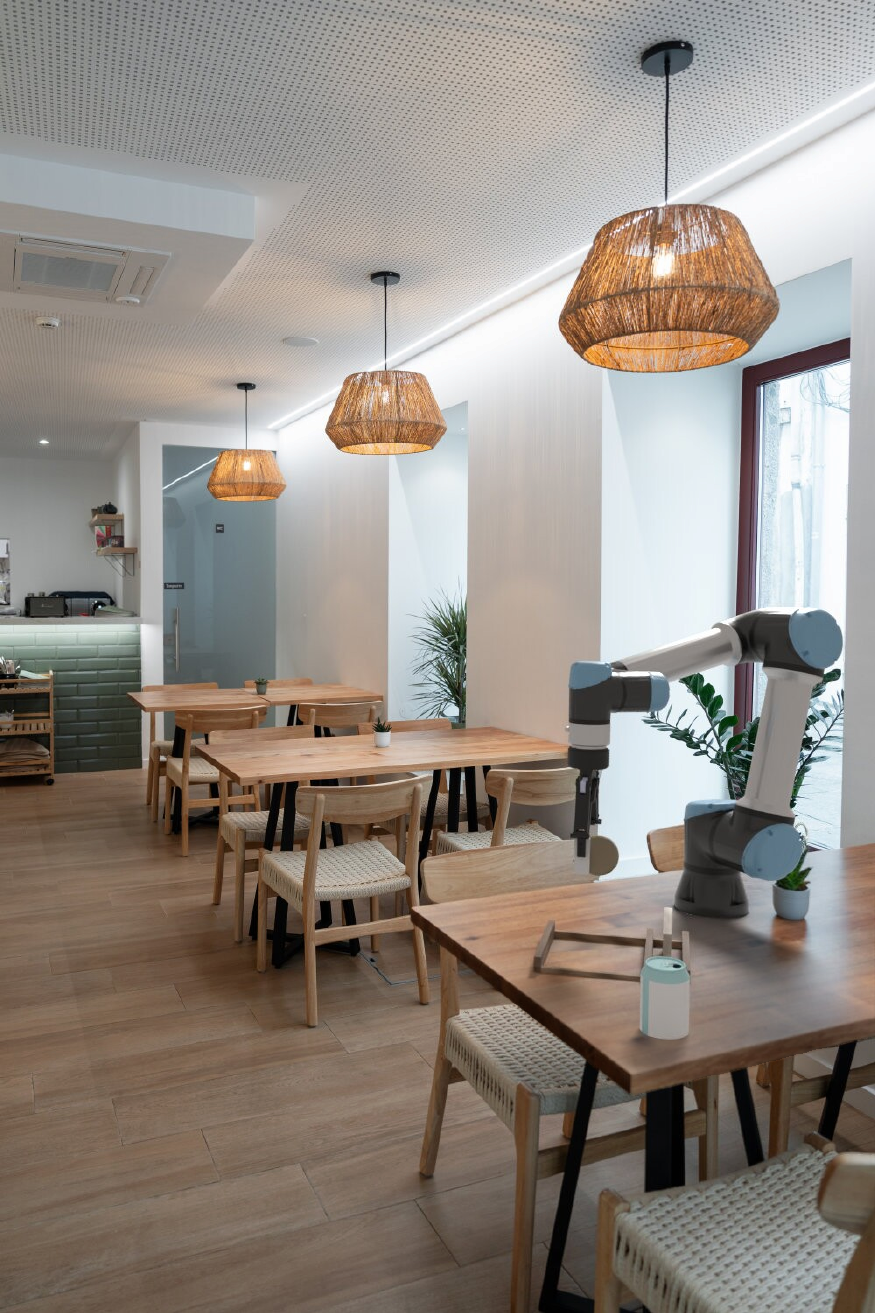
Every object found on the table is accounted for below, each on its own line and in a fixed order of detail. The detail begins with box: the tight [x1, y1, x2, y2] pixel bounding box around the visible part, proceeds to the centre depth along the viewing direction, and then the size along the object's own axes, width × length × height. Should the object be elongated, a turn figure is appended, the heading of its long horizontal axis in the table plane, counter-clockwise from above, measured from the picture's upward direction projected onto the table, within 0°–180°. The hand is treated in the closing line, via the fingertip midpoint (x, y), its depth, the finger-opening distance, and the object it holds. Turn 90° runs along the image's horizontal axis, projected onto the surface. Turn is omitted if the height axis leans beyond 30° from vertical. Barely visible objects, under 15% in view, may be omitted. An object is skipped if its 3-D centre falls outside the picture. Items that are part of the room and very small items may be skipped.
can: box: [639, 955, 691, 1041], centre depth 145 cm, size 7×7×12 cm
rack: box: [533, 906, 691, 982], centre depth 176 cm, size 26×20×9 cm
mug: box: [572, 835, 620, 877], centre depth 179 cm, size 8×10×10 cm
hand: (585, 866), depth 181 cm, fingers closed on mug, 10 cm apart
